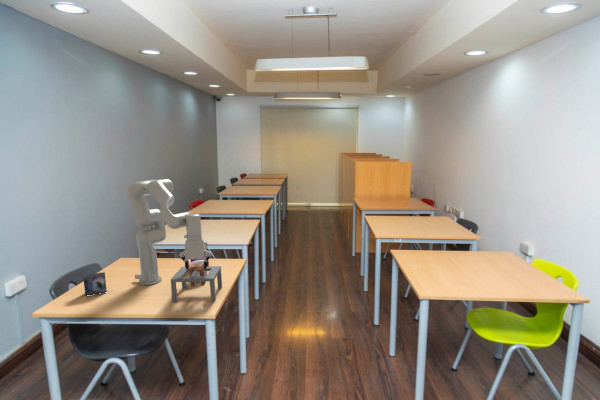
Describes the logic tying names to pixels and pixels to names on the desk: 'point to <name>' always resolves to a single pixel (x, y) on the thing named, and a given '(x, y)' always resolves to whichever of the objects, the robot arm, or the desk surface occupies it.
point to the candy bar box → (205, 255)
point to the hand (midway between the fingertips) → (196, 268)
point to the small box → (95, 283)
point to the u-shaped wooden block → (201, 270)
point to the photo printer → (199, 263)
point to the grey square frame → (197, 280)
